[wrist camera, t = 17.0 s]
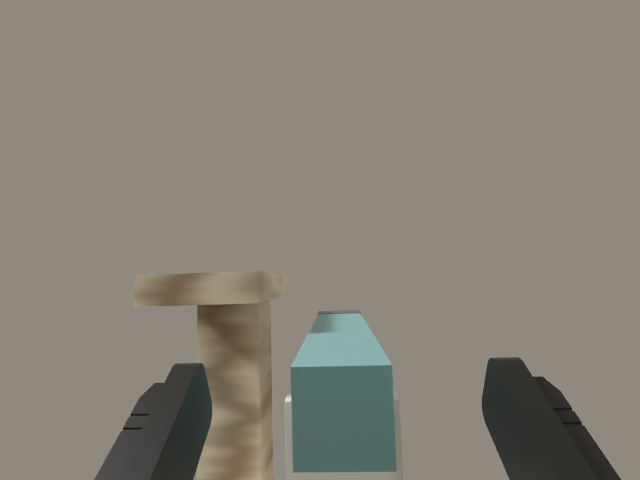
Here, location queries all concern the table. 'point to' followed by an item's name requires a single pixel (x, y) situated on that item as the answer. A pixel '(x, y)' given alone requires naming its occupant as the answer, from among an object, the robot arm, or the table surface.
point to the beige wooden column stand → (229, 362)
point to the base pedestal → (342, 477)
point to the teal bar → (342, 399)
